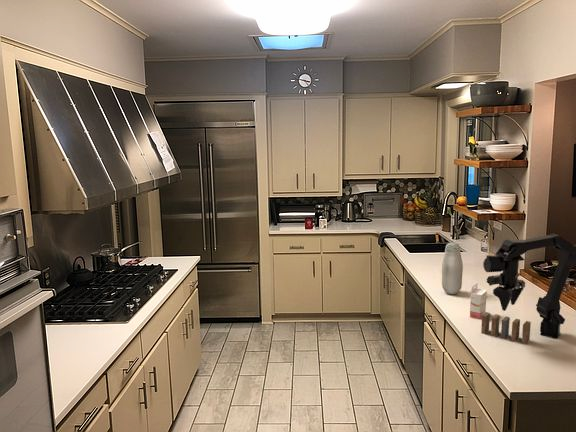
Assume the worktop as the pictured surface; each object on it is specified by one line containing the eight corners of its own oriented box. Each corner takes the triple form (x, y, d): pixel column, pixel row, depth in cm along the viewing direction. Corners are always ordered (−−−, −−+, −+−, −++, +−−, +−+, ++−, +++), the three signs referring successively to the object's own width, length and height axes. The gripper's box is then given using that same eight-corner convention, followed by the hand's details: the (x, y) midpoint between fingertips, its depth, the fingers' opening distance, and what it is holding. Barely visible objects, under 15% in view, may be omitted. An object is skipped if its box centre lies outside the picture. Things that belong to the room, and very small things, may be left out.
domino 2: (498, 332, 197) (499, 315, 196) (494, 336, 193) (495, 318, 192) (494, 331, 198) (495, 314, 197) (490, 335, 194) (491, 317, 193)
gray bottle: (444, 289, 255) (446, 239, 250) (463, 292, 249) (465, 241, 245) (438, 294, 247) (440, 243, 242) (458, 297, 241) (460, 245, 237)
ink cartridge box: (480, 319, 212) (481, 288, 209) (469, 317, 215) (470, 286, 213) (486, 313, 218) (487, 283, 216) (475, 311, 221) (476, 282, 219)
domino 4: (529, 340, 189) (530, 321, 188) (526, 344, 185) (527, 325, 184) (525, 339, 190) (526, 320, 189) (521, 343, 186) (522, 324, 185)
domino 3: (518, 337, 192) (520, 319, 190) (515, 341, 188) (516, 323, 187) (514, 336, 193) (516, 318, 191) (511, 340, 189) (512, 322, 188)
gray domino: (508, 335, 194) (509, 317, 193) (504, 339, 191) (506, 320, 189) (504, 334, 195) (505, 316, 194) (500, 338, 192) (501, 319, 190)
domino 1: (489, 330, 199) (489, 312, 198) (485, 334, 196) (486, 316, 194) (485, 329, 201) (486, 312, 199) (481, 333, 197) (482, 315, 196)
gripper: (499, 263, 200) (497, 297, 203) (480, 272, 187) (479, 308, 190) (526, 267, 192) (524, 303, 195) (509, 277, 179) (507, 315, 182)
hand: (508, 307), depth 190 cm, fingers open, 9 cm apart
